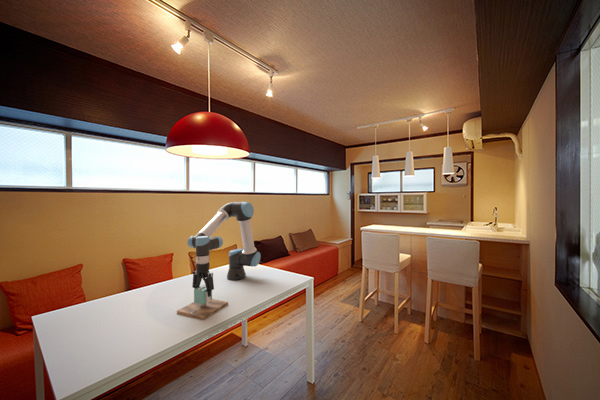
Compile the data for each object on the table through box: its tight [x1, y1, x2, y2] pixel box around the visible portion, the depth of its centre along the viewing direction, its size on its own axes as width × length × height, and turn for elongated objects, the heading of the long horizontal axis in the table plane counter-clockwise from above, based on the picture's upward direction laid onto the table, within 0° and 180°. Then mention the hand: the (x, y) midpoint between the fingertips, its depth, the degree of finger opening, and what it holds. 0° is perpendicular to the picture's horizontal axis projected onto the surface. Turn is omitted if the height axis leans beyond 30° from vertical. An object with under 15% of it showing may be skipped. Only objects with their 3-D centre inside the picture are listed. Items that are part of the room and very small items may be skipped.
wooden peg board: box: [176, 298, 229, 320], centre depth 142 cm, size 20×20×7 cm
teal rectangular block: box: [193, 284, 213, 304], centre depth 142 cm, size 7×7×9 cm
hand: (203, 300), depth 142 cm, fingers closed on teal rectangular block, 7 cm apart
